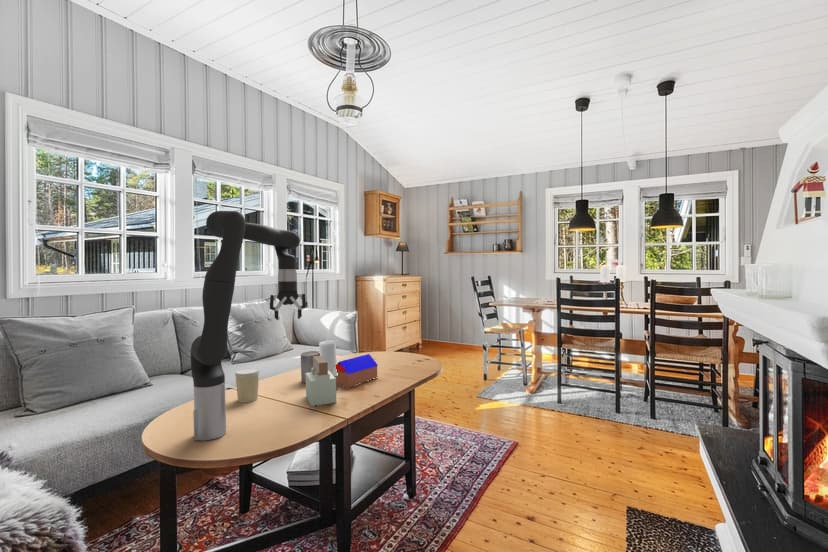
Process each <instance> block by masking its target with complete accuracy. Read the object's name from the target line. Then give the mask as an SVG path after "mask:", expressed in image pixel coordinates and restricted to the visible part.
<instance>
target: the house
mask: <svg viewBox="0 0 828 552" xmlns="http://www.w3.org/2000/svg"><path fill="white" fill-rule="evenodd" d="M335 366H336V369H337V373H338V376H337V377H335V378H336V386H339V385H340V387H343V386H344V387H343V388H346V387H348V388H347V389H350V388H352V387H351V386H353V387H355V386H354V385H356V384H359V383H362V382H365V381H367V380H370V379H373V378H376V377H377V378H378V366H379V365H378V364H377V362H376V361H375V359H374V358H373V357H372V356H371V354H370V353H367V354H363V355H360V356H357V357H352V358H347V359H344V360H339V361H338V362H337V363H336V364H335ZM365 383H366V382H365ZM362 384H363V383H362ZM359 385H360V384H359ZM356 386H357V385H356ZM349 387H350V388H349Z"/></svg>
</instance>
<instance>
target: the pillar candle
mask: <svg viewBox="0 0 828 552" xmlns="http://www.w3.org/2000/svg"><path fill="white" fill-rule="evenodd" d="M319 352H320V351H319V350H318V351H316V350H310V351H304V352H301V353H299V354H300V375H301V379H300V380H301V383H302V384H306V373H311V368H313V356H320V353H319Z"/></svg>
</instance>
